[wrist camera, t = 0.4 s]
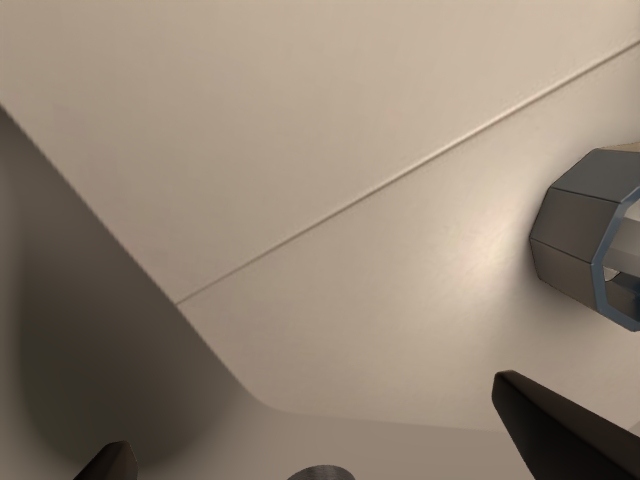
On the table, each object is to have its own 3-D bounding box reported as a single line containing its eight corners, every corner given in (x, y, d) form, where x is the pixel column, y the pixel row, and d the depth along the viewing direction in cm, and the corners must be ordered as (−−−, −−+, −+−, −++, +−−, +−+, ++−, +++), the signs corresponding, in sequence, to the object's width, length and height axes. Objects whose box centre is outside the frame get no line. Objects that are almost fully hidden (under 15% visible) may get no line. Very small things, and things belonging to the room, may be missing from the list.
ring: (656, 279, 25) (735, 311, 21) (521, 305, 24) (576, 344, 20) (693, 134, 21) (798, 136, 17) (537, 156, 20) (608, 165, 16)
